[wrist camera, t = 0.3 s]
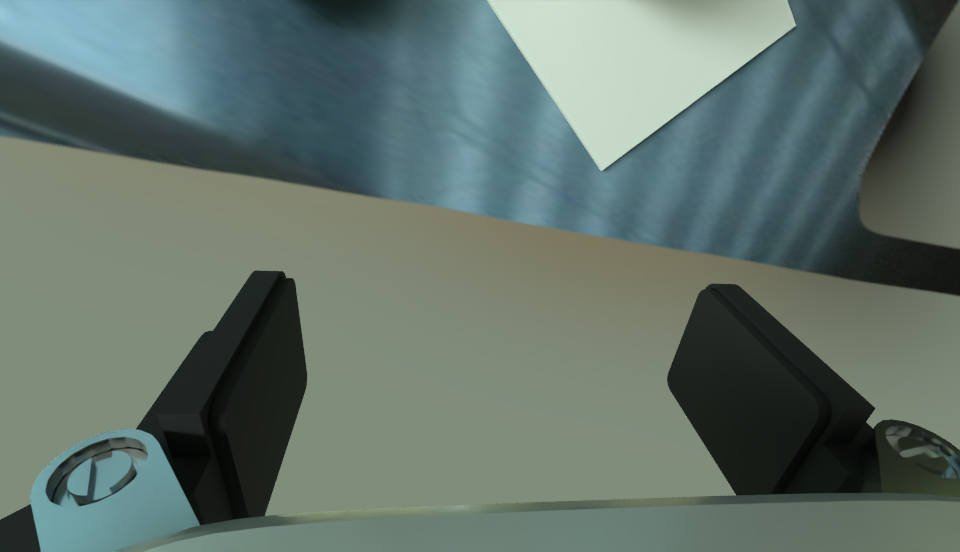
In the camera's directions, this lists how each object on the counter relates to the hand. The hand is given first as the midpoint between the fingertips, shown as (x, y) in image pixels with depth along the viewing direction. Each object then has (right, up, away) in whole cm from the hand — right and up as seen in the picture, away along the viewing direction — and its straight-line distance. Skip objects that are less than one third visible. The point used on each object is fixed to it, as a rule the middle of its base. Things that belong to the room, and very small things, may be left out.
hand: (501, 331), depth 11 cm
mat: (+11, +22, +23) cm, 34 cm away
